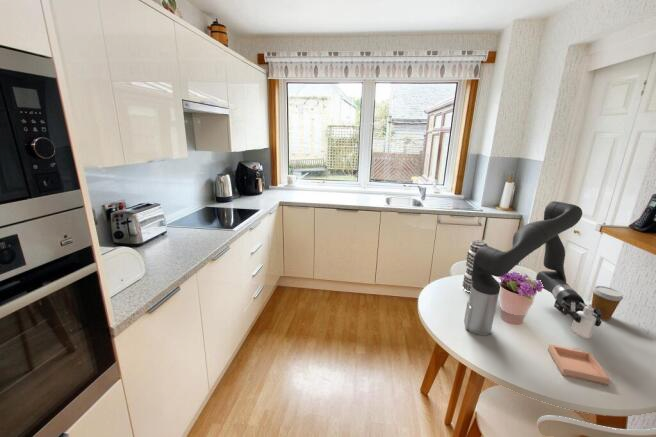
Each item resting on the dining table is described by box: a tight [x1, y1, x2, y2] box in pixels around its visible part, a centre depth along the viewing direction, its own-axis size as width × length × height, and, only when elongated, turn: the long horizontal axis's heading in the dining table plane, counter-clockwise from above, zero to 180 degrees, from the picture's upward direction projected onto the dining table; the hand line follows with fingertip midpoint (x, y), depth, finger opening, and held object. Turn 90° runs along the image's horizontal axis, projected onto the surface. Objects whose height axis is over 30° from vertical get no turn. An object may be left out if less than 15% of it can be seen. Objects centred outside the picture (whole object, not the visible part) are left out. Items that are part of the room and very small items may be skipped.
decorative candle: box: [462, 240, 489, 292], centre depth 140 cm, size 9×9×25 cm
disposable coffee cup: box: [591, 285, 624, 321], centre depth 124 cm, size 10×10×12 cm
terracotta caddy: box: [547, 343, 611, 386], centre depth 97 cm, size 12×12×2 cm
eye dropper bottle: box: [570, 303, 596, 339], centre depth 103 cm, size 4×6×12 cm
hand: (589, 322), depth 101 cm, fingers closed on eye dropper bottle, 5 cm apart
